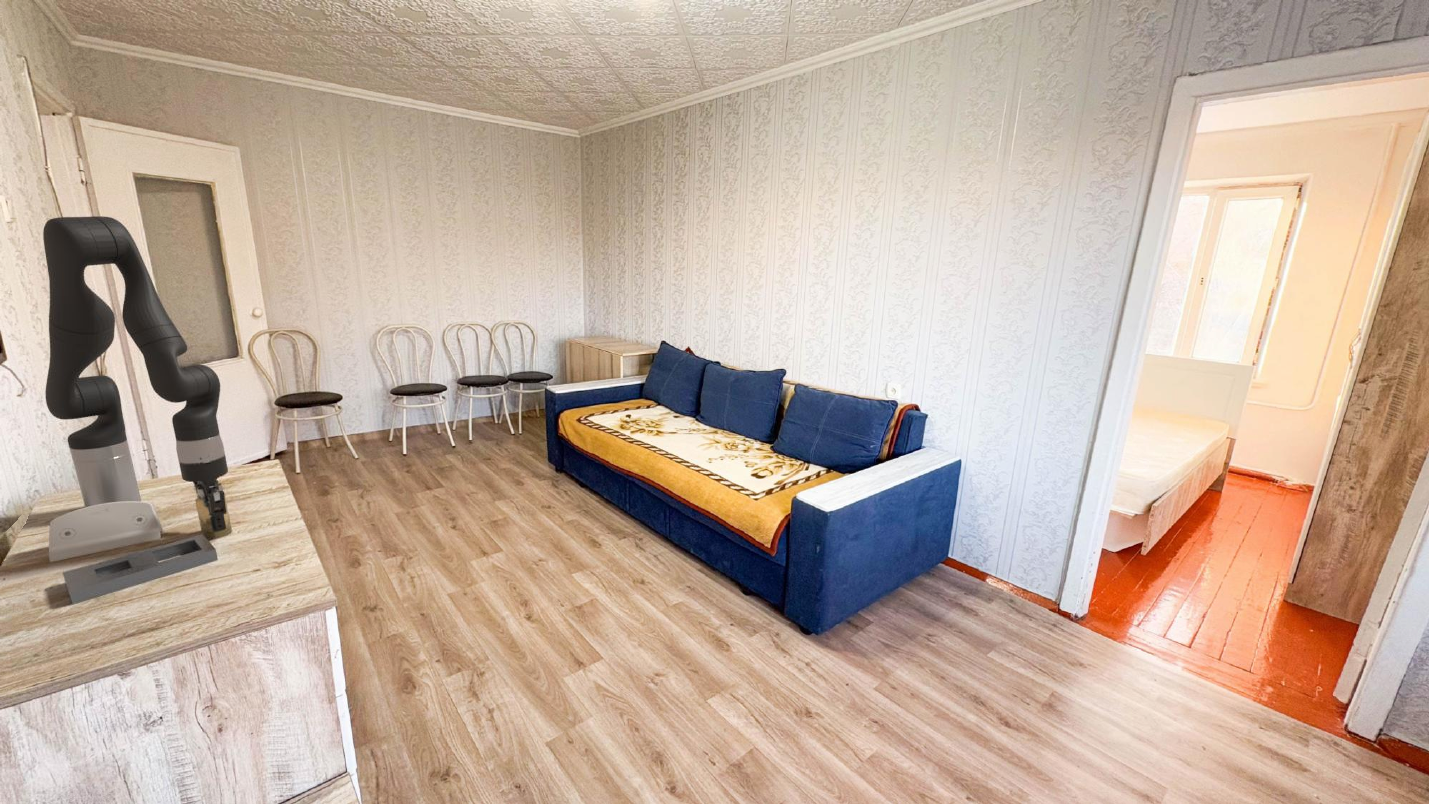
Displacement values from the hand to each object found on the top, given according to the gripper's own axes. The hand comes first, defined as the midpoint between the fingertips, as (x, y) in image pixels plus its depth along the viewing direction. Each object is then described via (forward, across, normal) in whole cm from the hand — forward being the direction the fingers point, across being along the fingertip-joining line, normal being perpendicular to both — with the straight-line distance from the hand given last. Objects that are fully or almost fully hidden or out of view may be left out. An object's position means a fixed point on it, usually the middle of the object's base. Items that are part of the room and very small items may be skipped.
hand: (216, 526), depth 124 cm
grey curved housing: (+2, -12, -15) cm, 20 cm away
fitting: (+2, 0, 0) cm, 2 cm away
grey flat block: (+2, +9, -13) cm, 16 cm away
